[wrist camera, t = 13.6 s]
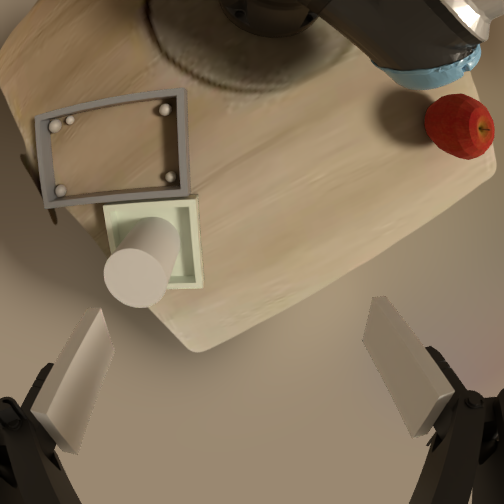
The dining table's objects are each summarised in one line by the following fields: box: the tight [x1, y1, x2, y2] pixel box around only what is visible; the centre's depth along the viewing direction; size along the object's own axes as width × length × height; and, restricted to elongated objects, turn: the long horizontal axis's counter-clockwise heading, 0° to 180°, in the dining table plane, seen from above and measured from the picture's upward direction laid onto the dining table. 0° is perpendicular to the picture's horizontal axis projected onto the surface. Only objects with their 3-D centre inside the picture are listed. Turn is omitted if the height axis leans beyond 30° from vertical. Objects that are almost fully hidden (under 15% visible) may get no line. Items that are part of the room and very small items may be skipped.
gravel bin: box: [35, 88, 191, 209], centre depth 39 cm, size 15×24×3 cm, turn 90°
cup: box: [104, 217, 181, 308], centre depth 40 cm, size 8×8×12 cm
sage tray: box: [103, 194, 204, 289], centre depth 45 cm, size 14×14×3 cm
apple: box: [424, 94, 494, 160], centre depth 35 cm, size 10×10×14 cm
